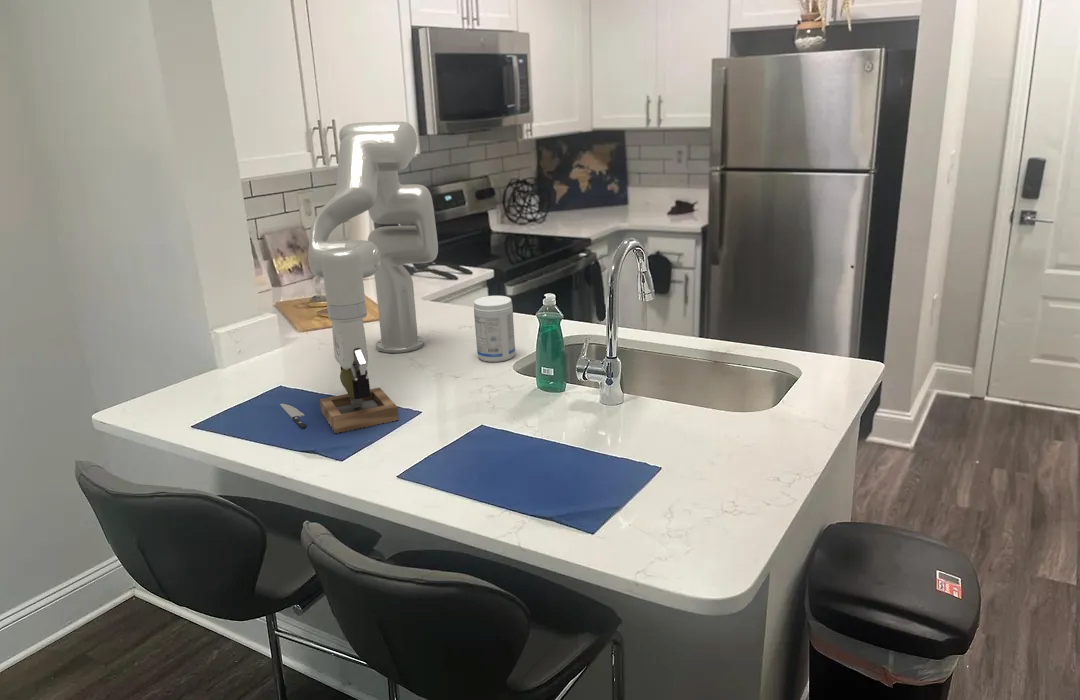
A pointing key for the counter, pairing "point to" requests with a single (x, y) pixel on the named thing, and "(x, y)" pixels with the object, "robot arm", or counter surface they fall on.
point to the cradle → (358, 411)
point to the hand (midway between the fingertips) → (356, 390)
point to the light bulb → (350, 387)
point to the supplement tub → (494, 328)
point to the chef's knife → (294, 414)
